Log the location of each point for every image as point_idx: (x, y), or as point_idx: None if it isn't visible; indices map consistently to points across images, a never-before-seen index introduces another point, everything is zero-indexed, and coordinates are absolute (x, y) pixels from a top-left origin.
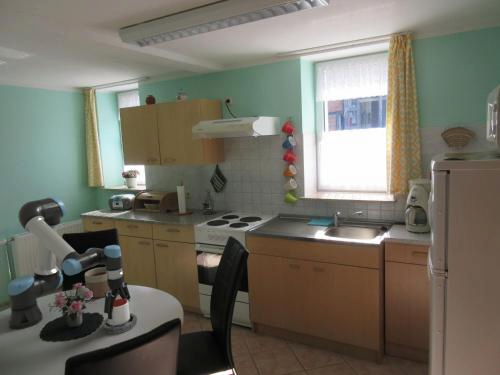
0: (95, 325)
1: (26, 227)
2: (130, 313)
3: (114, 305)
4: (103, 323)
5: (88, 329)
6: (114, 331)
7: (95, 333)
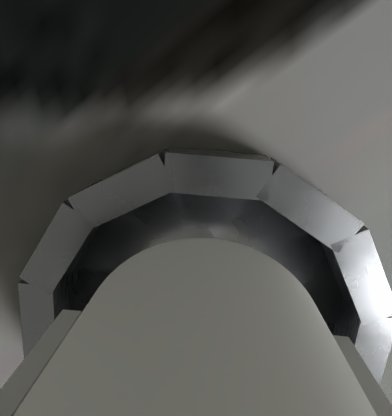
0: (153, 32)
1: None
2: (376, 374)
3: (320, 394)
4: (97, 198)
5: (52, 8)
6: None
7: (9, 158)
